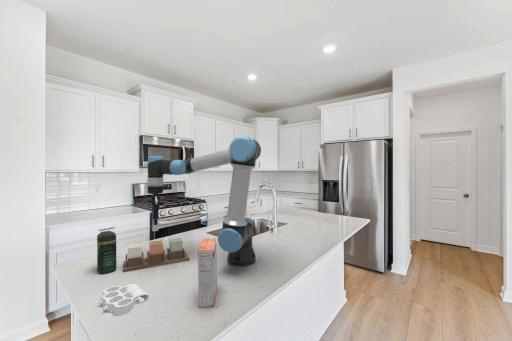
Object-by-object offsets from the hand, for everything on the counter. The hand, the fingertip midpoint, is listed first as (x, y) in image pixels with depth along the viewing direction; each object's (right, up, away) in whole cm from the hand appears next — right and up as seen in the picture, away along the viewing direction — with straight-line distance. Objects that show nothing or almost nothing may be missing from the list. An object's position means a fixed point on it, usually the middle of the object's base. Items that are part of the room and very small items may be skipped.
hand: (155, 230), depth 125 cm
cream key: (-9, -12, -4) cm, 16 cm away
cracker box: (+34, -18, -32) cm, 50 cm away
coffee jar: (-20, -17, -8) cm, 28 cm away
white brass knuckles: (+2, -18, -35) cm, 40 cm away
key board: (+1, -17, 0) cm, 17 cm away
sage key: (+9, -12, +5) cm, 16 cm away
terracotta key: (0, -12, 0) cm, 12 cm away
